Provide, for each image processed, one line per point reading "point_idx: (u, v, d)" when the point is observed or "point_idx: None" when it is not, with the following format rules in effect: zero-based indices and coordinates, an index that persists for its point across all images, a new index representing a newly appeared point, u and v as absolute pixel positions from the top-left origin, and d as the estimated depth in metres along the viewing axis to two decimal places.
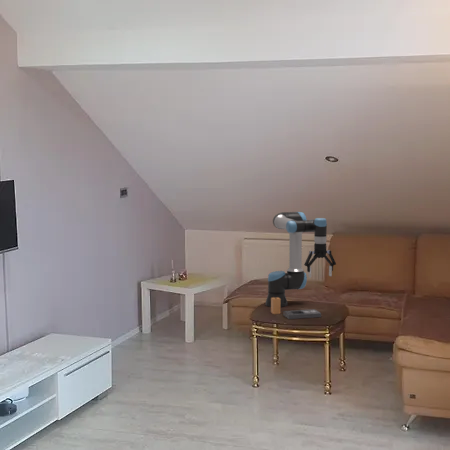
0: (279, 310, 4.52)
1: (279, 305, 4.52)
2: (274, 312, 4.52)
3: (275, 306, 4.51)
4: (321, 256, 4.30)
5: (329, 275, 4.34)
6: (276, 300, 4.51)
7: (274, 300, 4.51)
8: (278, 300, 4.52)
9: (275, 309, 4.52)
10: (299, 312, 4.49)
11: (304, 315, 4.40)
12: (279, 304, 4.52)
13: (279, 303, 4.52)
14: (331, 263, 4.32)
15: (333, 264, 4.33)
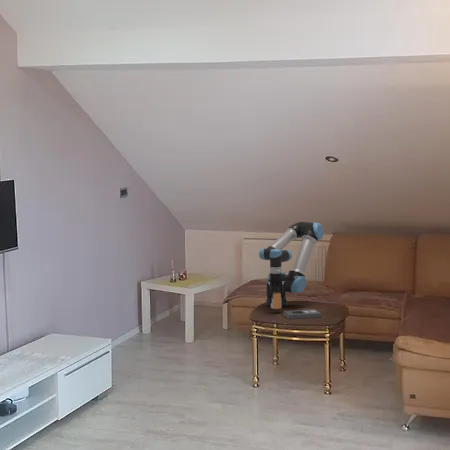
0: (279, 305, 4.52)
1: (279, 300, 4.52)
2: (274, 307, 4.52)
3: (275, 301, 4.51)
4: (277, 285, 4.52)
5: None
6: (276, 295, 4.51)
7: (274, 295, 4.51)
8: (278, 295, 4.52)
9: (275, 304, 4.52)
10: (299, 312, 4.49)
11: (304, 315, 4.40)
12: (279, 299, 4.52)
13: (279, 298, 4.52)
14: (281, 295, 4.53)
15: (283, 296, 4.54)
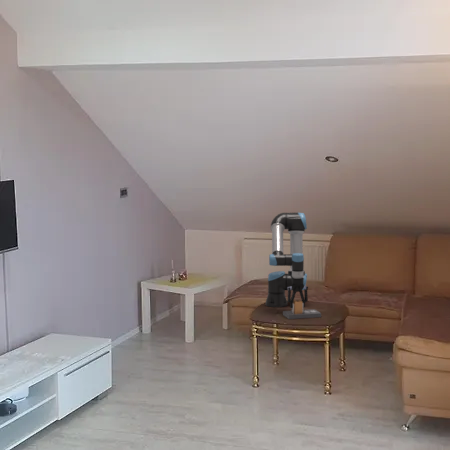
0: (301, 313, 4.43)
1: (301, 308, 4.43)
2: None
3: (297, 309, 4.42)
4: (298, 290, 4.43)
5: None
6: (298, 303, 4.42)
7: (296, 303, 4.42)
8: (300, 303, 4.42)
9: (297, 313, 4.43)
10: None
11: (304, 315, 4.40)
12: (301, 307, 4.43)
13: (301, 306, 4.43)
14: (303, 300, 4.44)
15: (305, 301, 4.45)
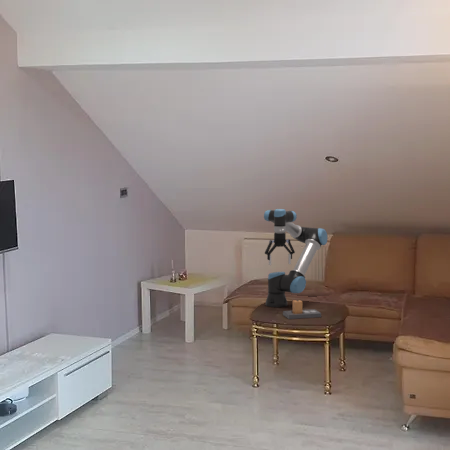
0: (301, 313, 4.43)
1: (301, 308, 4.43)
2: None
3: (297, 309, 4.42)
4: (280, 245, 4.54)
5: (288, 263, 4.58)
6: (298, 303, 4.42)
7: (296, 303, 4.42)
8: (300, 303, 4.42)
9: (297, 313, 4.43)
10: None
11: (304, 315, 4.40)
12: (301, 307, 4.43)
13: (301, 306, 4.43)
14: (290, 252, 4.56)
15: (292, 252, 4.57)
